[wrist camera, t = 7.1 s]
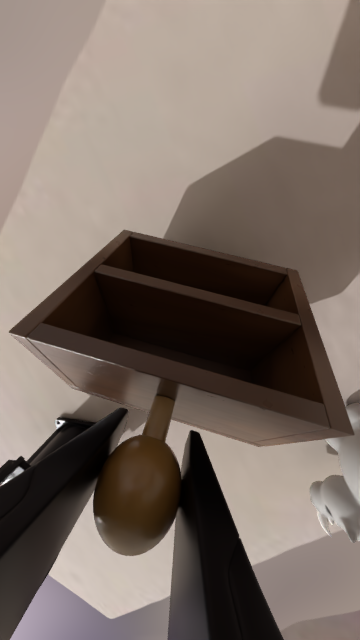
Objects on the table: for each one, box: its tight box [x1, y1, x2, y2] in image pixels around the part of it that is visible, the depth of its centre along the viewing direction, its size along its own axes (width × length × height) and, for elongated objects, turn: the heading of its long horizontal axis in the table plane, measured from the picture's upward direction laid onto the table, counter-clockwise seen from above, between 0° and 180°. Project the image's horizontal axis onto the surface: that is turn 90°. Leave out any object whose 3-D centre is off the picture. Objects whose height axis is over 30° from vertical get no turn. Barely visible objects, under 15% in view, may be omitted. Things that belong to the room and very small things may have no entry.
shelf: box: [9, 230, 355, 556], centre depth 10 cm, size 14×13×7 cm
